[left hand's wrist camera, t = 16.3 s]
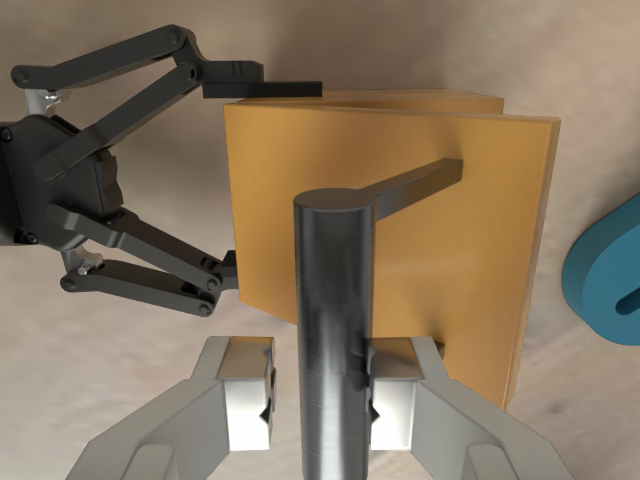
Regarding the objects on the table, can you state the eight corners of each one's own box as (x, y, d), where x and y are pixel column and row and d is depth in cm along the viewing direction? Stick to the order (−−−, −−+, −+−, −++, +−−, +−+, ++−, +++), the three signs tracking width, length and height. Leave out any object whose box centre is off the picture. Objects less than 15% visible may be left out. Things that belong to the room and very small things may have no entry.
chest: (444, 88, 32) (504, 98, 21) (433, 224, 35) (480, 289, 25) (263, 91, 32) (235, 102, 21) (270, 226, 35) (249, 291, 25)
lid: (562, 117, 13) (439, 164, 7) (514, 395, 17) (404, 591, 11) (242, 102, 21) (51, 118, 15) (256, 293, 25) (106, 370, 19)
